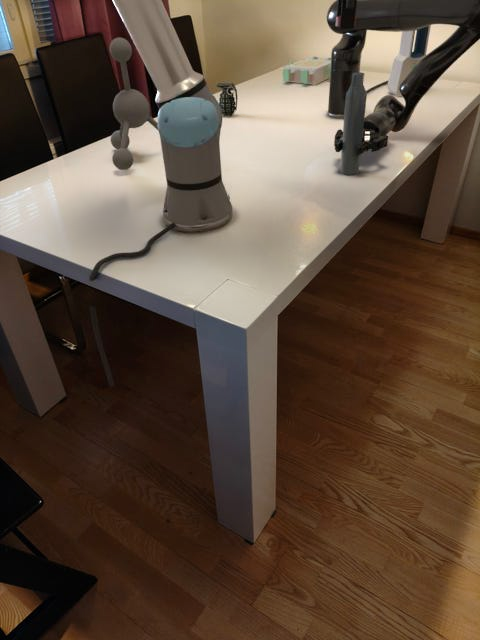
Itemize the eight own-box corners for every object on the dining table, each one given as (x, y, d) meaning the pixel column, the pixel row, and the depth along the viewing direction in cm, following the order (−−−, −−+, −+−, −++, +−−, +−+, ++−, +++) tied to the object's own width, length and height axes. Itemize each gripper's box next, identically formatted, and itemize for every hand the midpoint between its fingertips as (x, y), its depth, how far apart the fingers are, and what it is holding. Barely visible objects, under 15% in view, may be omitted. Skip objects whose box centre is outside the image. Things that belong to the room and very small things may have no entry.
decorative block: (305, 54, 216) (346, 57, 206) (304, 70, 220) (345, 74, 210) (274, 66, 200) (317, 69, 190) (274, 83, 204) (316, 87, 194)
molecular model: (196, 161, 135) (182, 37, 116) (116, 176, 129) (90, 48, 110) (173, 138, 152) (159, 27, 134) (102, 149, 146) (77, 35, 128)
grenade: (217, 117, 168) (214, 86, 162) (221, 112, 172) (219, 82, 166) (235, 117, 166) (233, 86, 160) (239, 113, 171) (238, 82, 165)
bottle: (362, 171, 124) (373, 73, 110) (349, 176, 122) (358, 76, 108) (349, 166, 127) (357, 70, 113) (336, 171, 125) (343, 73, 111)
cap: (352, 24, 98) (354, 15, 97) (356, 27, 95) (357, 17, 94) (334, 24, 98) (334, 15, 97) (336, 27, 95) (337, 17, 94)
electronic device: (396, 96, 178) (409, -2, 159) (385, 92, 183) (397, -3, 165) (426, 92, 180) (443, -5, 162) (415, 88, 186) (430, -6, 167)
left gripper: (394, -141, 76) (372, 32, 90) (371, -129, 89) (355, 21, 103) (346, -139, 76) (332, 33, 90) (330, -127, 89) (320, 21, 104)
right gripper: (347, 112, 131) (321, 130, 119) (400, 118, 124) (377, 137, 113) (345, 140, 135) (319, 160, 124) (396, 147, 129) (374, 169, 118)
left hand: (344, 26), depth 97 cm, fingers closed on cap, 4 cm apart
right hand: (347, 149), depth 119 cm, fingers closed on bottle, 4 cm apart
